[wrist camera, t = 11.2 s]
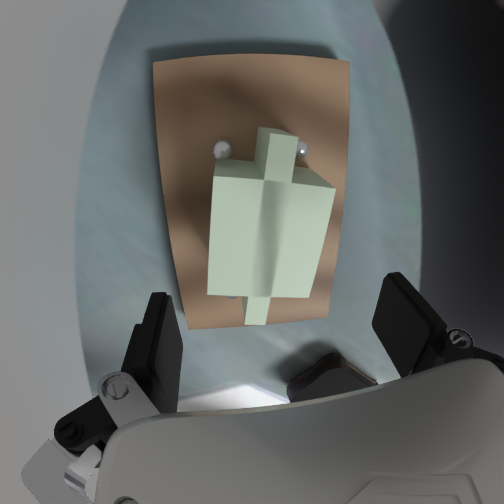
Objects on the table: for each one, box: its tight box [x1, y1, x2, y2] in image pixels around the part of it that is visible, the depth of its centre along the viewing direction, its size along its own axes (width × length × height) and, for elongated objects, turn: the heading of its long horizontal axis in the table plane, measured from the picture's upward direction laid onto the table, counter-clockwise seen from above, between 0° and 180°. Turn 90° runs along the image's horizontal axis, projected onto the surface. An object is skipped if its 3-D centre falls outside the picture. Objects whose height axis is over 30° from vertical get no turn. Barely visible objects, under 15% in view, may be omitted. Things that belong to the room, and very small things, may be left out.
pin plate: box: [153, 54, 350, 329], centre depth 19 cm, size 22×13×4 cm, turn 1°
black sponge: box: [287, 353, 379, 403], centre depth 33 cm, size 16×8×4 cm, turn 43°
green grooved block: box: [207, 127, 336, 325], centre depth 18 cm, size 12×6×5 cm, turn 173°
